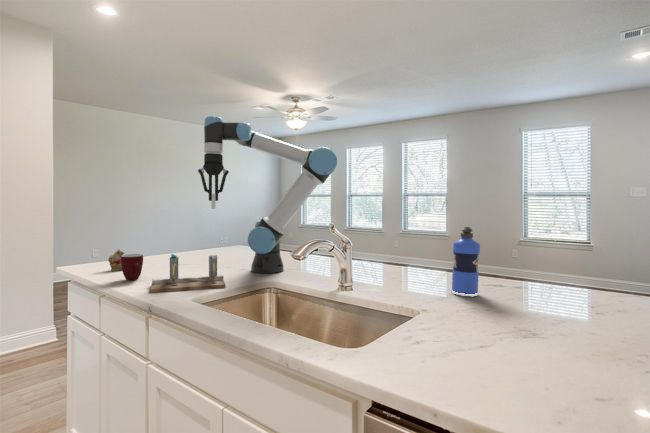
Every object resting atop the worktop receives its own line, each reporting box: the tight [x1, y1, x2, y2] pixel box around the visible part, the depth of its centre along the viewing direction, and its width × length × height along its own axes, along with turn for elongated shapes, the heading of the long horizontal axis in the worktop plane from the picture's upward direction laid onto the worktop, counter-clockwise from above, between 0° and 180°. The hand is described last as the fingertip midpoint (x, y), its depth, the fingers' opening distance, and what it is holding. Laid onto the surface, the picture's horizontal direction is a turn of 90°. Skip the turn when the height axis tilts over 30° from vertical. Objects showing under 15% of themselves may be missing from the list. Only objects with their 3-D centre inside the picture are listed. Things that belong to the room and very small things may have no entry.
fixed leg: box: [208, 254, 218, 279], centre depth 143 cm, size 3×8×8 cm, turn 21°
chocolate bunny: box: [108, 248, 125, 272], centre depth 167 cm, size 6×8×10 cm
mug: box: [121, 253, 144, 282], centre depth 147 cm, size 11×8×10 cm
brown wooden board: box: [149, 275, 226, 294], centre depth 139 cm, size 26×12×3 cm, turn 111°
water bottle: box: [451, 226, 481, 294], centre depth 134 cm, size 9×9×25 cm
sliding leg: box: [169, 253, 179, 281], centre depth 137 cm, size 3×8×9 cm, turn 21°
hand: (213, 208), depth 157 cm, fingers closed
